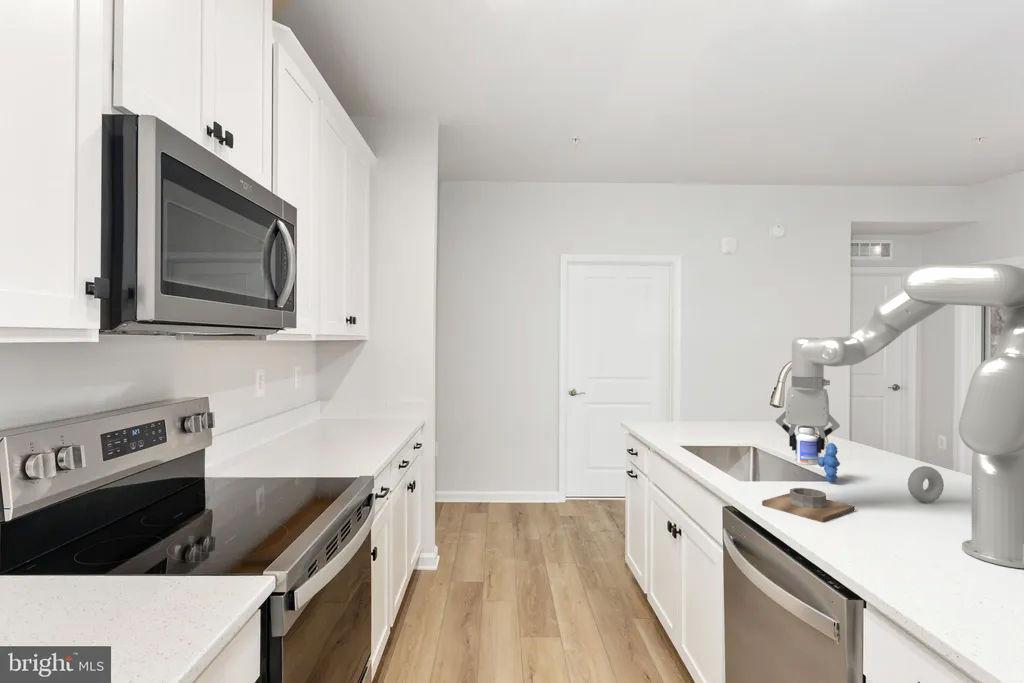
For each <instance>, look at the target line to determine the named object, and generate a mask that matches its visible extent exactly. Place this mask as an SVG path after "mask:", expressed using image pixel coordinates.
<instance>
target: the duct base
mask: <svg viewBox="0 0 1024 683" xmlns="http://www.w3.org/2000/svg"><path fill="white" fill-rule="evenodd" d="M761 502H762V503H761V506H763V507H767V508H771V509H775V510H778V511H780V512H786V513H789V514H792V515H796V516H800V517H803V518H805V517H806V519H810V520H812V521H817V522H819V523H820V522H821V523H824V522H828V521H830V519H831V520H833V519H836V518H839V517H842V516H844V515H843V514H845V515H847V514H850V513H853V512H855V511H856V505H850V504H847V503H843V502H839V501H835V500H831V499H827V494H826V492H825V491H824V492H823V491H822V490H819V489H815V488H807V487H806V488H805V487H793V488H790V489H789V492H788V493H785V494H782V495H778V496H774V497H771V498H768V499H764V500H761ZM854 510H855V511H854ZM852 511H853V512H852ZM849 512H850V513H849ZM846 513H847V514H846ZM841 515H842V516H841ZM838 516H839V517H838ZM835 517H836V518H835ZM827 520H828V521H827Z"/></svg>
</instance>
